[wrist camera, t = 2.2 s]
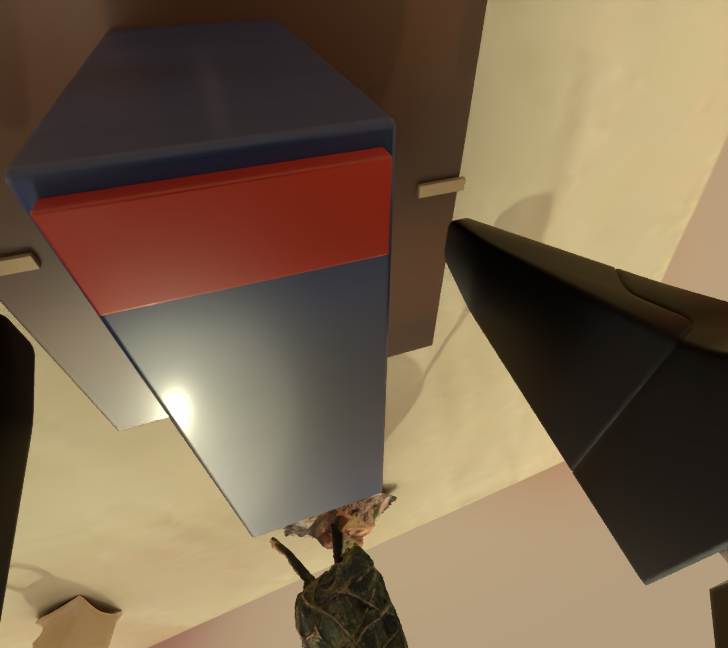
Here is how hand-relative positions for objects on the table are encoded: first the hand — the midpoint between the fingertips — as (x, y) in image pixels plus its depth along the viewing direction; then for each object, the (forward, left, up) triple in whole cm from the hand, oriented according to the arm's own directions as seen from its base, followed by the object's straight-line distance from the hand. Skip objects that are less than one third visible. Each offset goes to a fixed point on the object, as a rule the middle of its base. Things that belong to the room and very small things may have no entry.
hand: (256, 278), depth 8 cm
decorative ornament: (-35, +11, -6) cm, 37 cm away
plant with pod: (-27, -8, -6) cm, 29 cm away
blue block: (0, 0, -2) cm, 2 cm away
